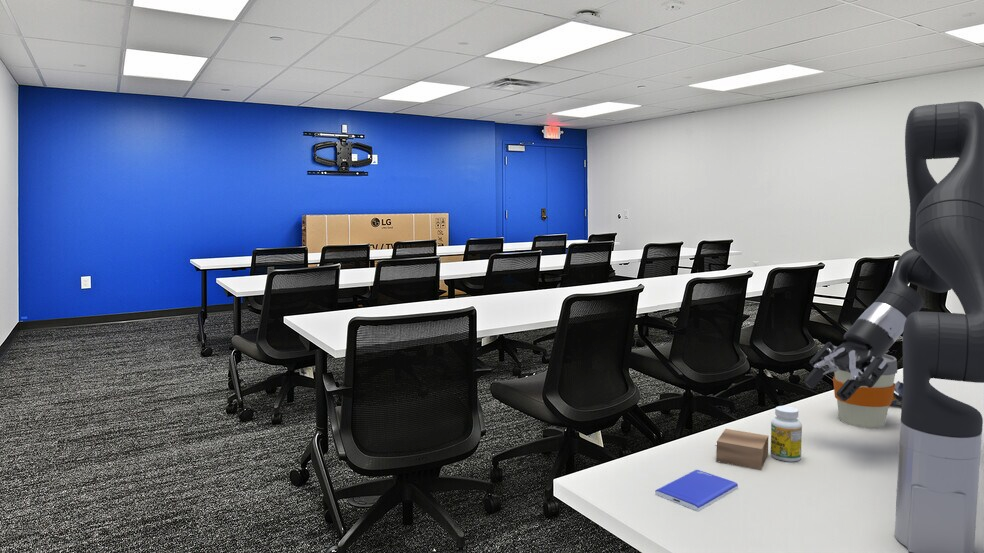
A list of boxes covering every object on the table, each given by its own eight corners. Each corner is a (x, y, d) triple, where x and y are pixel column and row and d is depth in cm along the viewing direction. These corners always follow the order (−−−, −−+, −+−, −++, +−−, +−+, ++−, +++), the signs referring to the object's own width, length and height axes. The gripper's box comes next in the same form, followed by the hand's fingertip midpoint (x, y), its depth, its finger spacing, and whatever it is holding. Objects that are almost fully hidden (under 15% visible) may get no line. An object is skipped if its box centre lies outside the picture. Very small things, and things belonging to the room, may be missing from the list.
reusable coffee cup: (907, 426, 136) (911, 359, 134) (867, 434, 131) (871, 365, 130) (855, 409, 147) (858, 348, 146) (817, 416, 143) (819, 353, 141)
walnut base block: (761, 470, 114) (761, 449, 113) (716, 461, 118) (716, 441, 117) (767, 455, 120) (768, 435, 120) (725, 447, 125) (725, 428, 124)
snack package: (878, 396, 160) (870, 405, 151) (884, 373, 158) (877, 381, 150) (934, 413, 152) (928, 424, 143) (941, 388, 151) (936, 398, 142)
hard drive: (695, 468, 112) (655, 488, 104) (738, 482, 106) (698, 505, 98) (695, 476, 112) (655, 497, 105) (737, 491, 106) (698, 514, 98)
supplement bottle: (807, 460, 118) (809, 411, 117) (784, 464, 116) (786, 414, 115) (786, 450, 123) (787, 403, 122) (764, 453, 121) (765, 406, 120)
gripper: (837, 312, 128) (787, 370, 126) (896, 324, 114) (840, 389, 112) (857, 336, 129) (808, 393, 128) (918, 350, 115) (863, 415, 114)
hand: (823, 391), depth 120 cm, fingers open, 8 cm apart
